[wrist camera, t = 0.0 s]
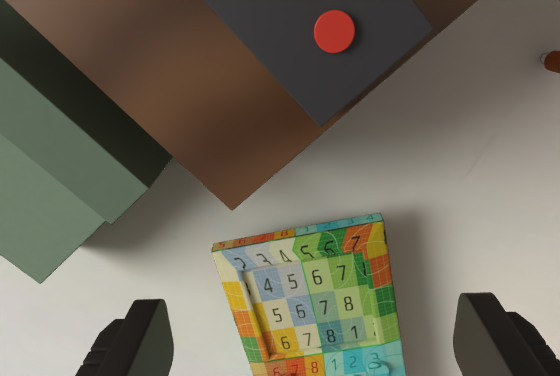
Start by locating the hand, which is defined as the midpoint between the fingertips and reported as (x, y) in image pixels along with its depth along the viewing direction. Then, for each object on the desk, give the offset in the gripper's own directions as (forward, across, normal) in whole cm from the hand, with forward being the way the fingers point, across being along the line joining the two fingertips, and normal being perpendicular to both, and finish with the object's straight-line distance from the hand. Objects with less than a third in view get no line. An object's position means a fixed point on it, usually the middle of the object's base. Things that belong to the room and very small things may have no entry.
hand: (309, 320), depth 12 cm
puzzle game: (+20, -1, +16) cm, 26 cm away
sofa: (+19, +17, -1) cm, 26 cm away
